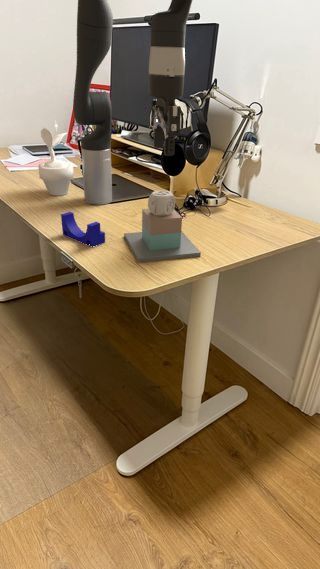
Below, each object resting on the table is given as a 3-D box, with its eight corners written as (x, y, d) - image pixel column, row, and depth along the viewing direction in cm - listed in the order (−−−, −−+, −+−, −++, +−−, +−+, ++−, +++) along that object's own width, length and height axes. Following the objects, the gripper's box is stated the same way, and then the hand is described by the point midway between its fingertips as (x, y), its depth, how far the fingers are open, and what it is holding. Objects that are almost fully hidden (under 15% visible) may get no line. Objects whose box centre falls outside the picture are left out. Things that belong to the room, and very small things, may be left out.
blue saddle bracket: (105, 243, 105) (104, 221, 102) (92, 248, 102) (91, 226, 99) (75, 230, 111) (74, 210, 108) (62, 235, 108) (60, 214, 105)
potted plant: (56, 200, 133) (48, 120, 120) (34, 193, 139) (24, 116, 126) (84, 192, 142) (79, 117, 129) (62, 186, 148) (56, 113, 135)
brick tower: (124, 236, 108) (123, 204, 104) (179, 232, 112) (181, 201, 108) (138, 262, 95) (138, 227, 91) (200, 256, 99) (203, 222, 95)
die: (147, 213, 99) (147, 193, 96) (158, 208, 102) (159, 189, 100) (164, 217, 96) (164, 197, 94) (175, 212, 100) (176, 192, 98)
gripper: (141, 70, 89) (140, 145, 97) (159, 73, 77) (156, 159, 85) (172, 71, 91) (169, 145, 99) (195, 74, 79) (189, 158, 87)
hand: (163, 151), depth 92 cm, fingers open, 8 cm apart
